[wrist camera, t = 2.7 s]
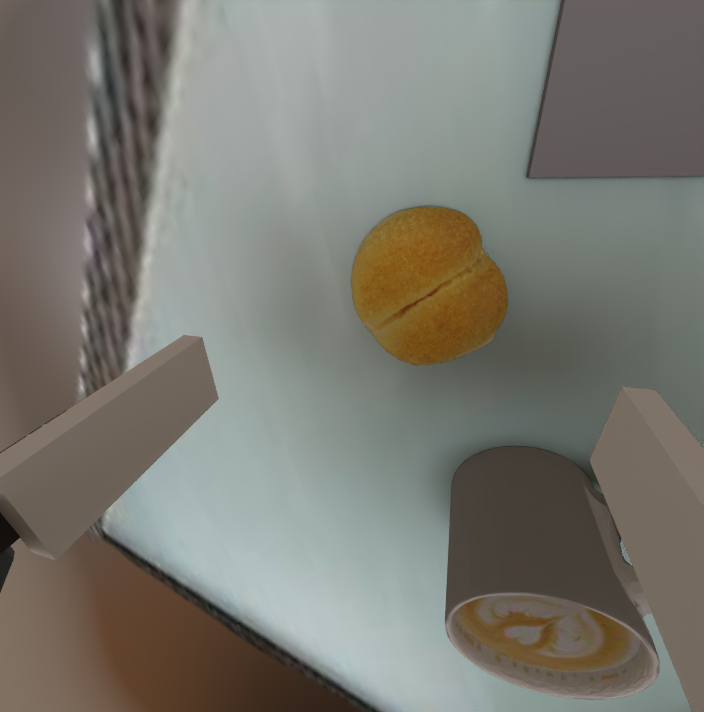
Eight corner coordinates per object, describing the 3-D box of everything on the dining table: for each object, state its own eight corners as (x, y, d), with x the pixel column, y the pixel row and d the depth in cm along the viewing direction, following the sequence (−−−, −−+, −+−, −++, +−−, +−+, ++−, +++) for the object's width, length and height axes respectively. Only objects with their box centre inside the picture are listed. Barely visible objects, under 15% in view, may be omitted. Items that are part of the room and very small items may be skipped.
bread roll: (447, 172, 18) (442, 175, 15) (524, 313, 20) (535, 343, 17) (329, 258, 22) (304, 276, 19) (404, 367, 24) (394, 401, 21)
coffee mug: (474, 541, 30) (477, 685, 22) (433, 457, 27) (417, 590, 19) (665, 532, 24) (769, 727, 16) (641, 424, 21) (755, 597, 13)
